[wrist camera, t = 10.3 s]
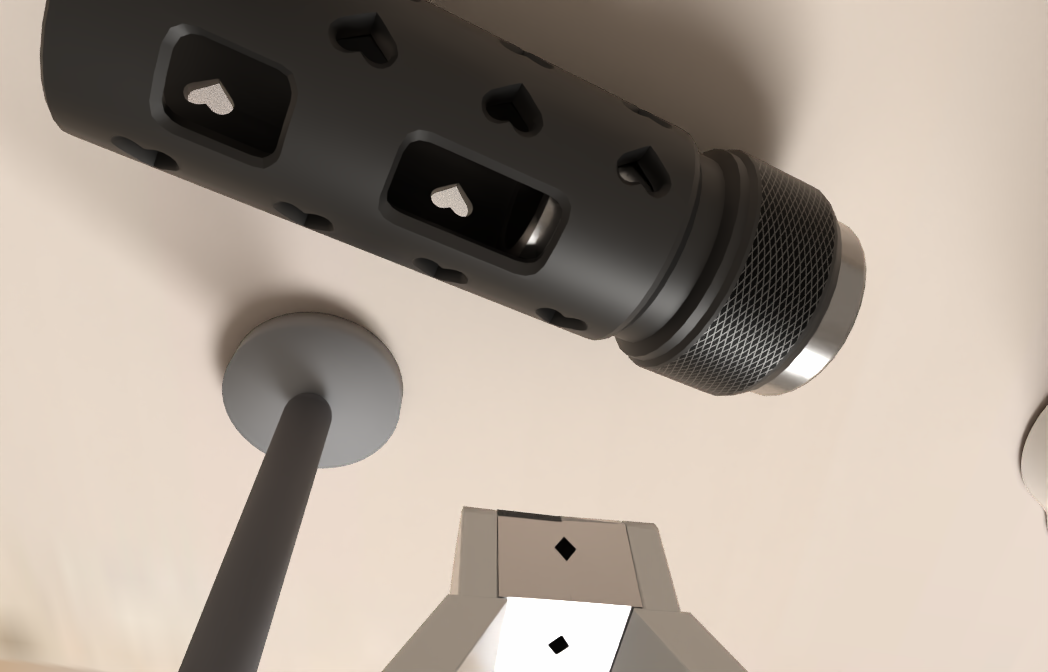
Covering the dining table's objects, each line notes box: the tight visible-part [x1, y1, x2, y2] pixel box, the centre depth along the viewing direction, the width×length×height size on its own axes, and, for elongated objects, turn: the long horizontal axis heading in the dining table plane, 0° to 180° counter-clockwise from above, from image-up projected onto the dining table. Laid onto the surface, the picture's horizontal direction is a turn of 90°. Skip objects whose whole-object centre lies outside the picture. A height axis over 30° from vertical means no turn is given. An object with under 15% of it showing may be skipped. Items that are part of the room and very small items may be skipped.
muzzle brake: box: [40, 0, 866, 396], centre depth 27 cm, size 10×28×10 cm, turn 64°
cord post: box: [178, 312, 403, 672], centre depth 28 cm, size 9×9×24 cm
